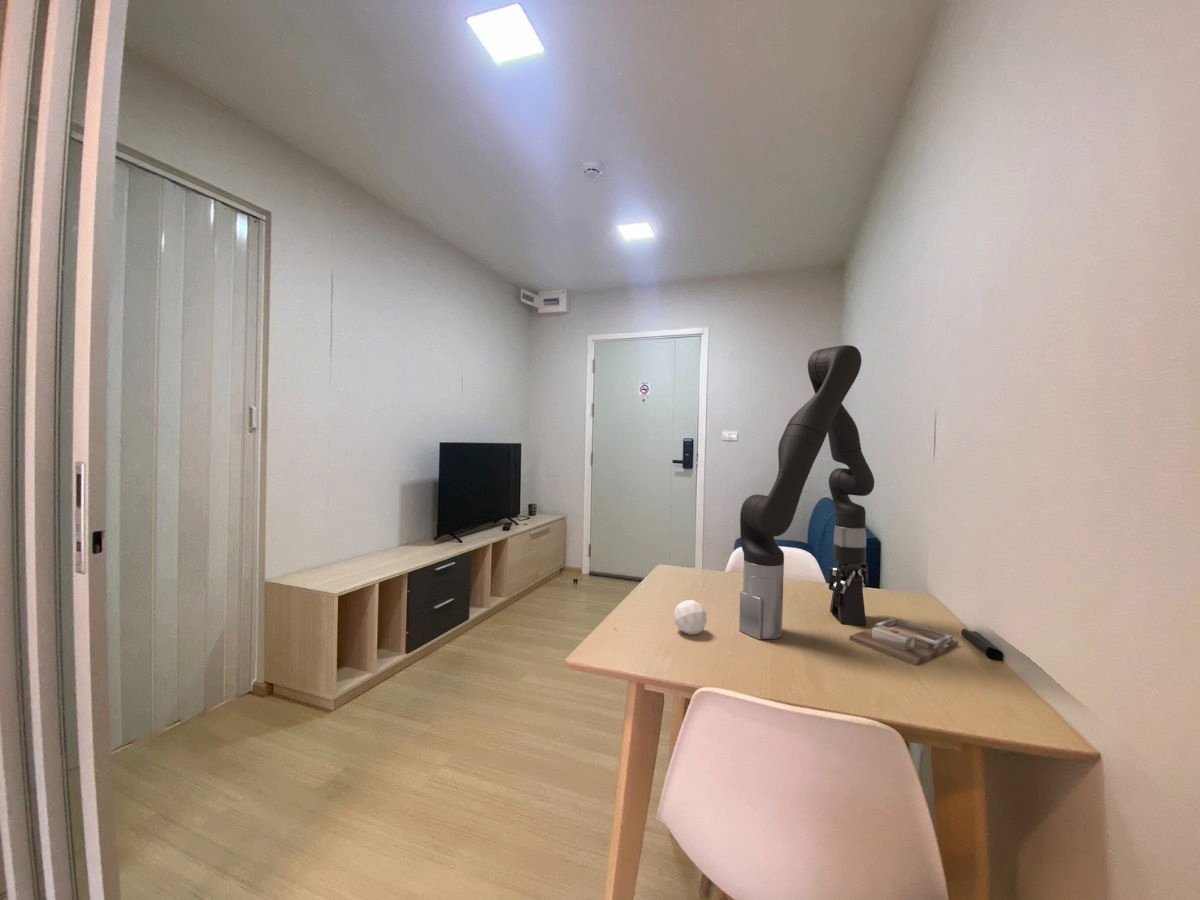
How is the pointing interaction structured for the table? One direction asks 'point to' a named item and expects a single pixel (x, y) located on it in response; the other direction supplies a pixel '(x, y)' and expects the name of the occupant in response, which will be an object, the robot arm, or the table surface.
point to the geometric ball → (690, 617)
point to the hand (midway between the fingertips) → (848, 604)
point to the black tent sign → (851, 604)
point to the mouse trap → (905, 640)
